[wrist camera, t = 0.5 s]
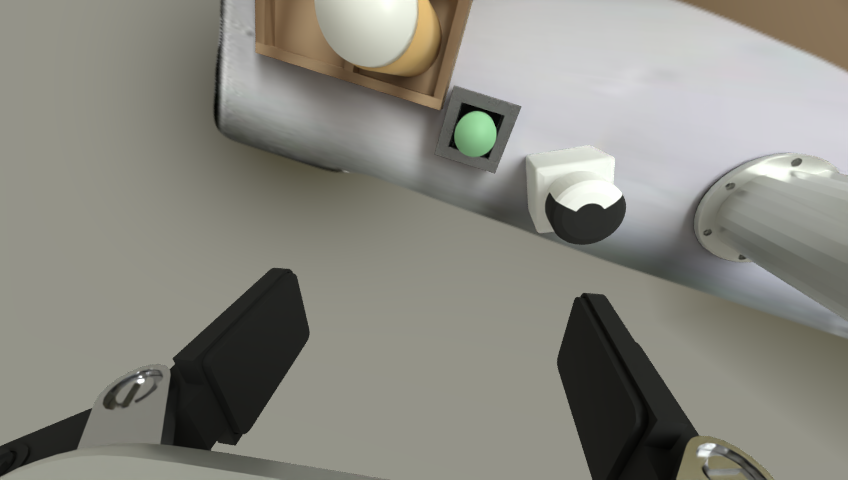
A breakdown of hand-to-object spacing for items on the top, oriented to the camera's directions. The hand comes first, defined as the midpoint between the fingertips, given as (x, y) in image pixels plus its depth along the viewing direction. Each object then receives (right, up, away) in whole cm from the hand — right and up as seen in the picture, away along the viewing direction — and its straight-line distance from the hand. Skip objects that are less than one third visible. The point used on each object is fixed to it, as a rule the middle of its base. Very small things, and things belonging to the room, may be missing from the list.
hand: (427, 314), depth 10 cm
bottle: (-2, +23, +21) cm, 31 cm away
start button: (+5, +14, +22) cm, 27 cm away
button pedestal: (+6, +16, +25) cm, 30 cm away
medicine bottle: (+16, +10, +26) cm, 32 cm away
